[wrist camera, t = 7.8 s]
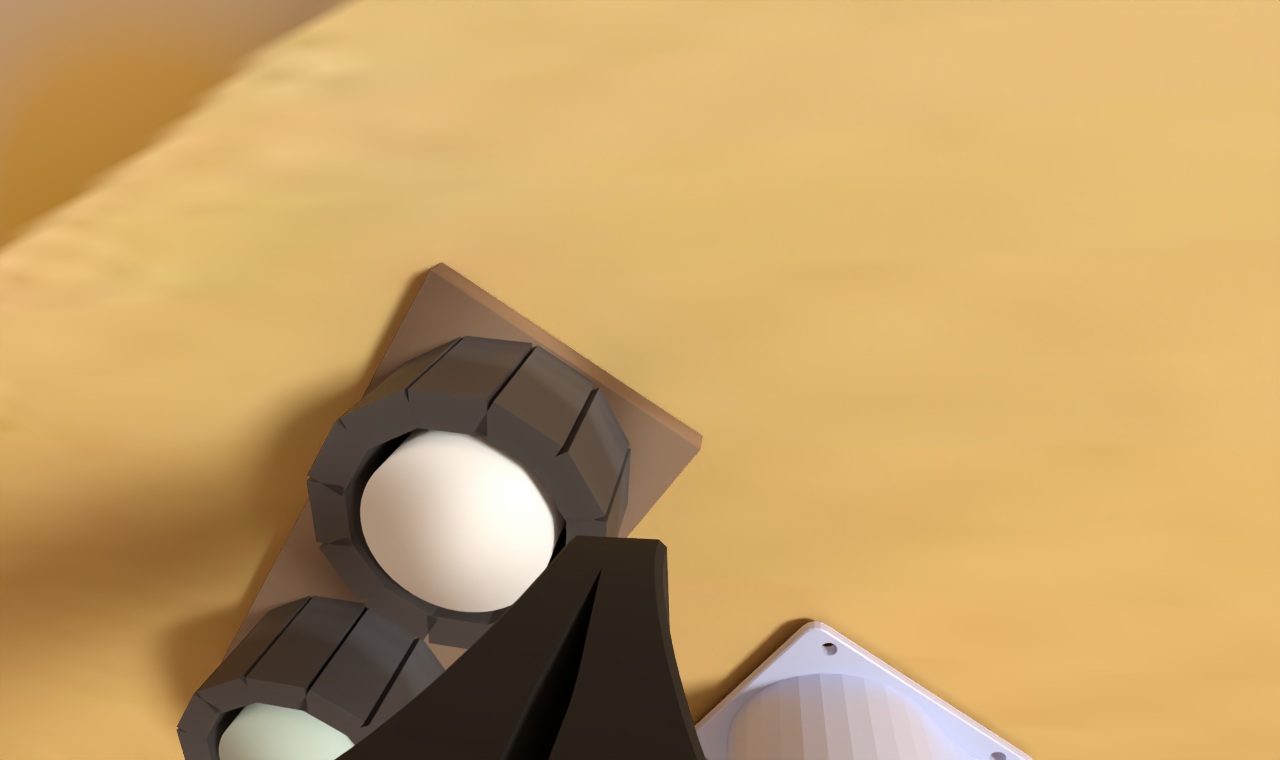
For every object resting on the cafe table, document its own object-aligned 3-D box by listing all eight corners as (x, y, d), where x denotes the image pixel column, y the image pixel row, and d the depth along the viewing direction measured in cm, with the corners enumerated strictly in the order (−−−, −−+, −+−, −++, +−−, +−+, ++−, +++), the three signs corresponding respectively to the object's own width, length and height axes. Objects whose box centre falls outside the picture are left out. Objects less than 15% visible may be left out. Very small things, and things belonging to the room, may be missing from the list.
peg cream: (612, 452, 20) (586, 522, 17) (529, 561, 22) (492, 642, 19) (464, 355, 20) (409, 409, 17) (393, 476, 22) (331, 545, 19)
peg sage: (435, 684, 25) (389, 772, 22) (380, 756, 27) (330, 846, 24) (312, 612, 25) (247, 691, 22) (265, 690, 27) (199, 774, 24)
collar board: (702, 436, 21) (689, 524, 17) (420, 776, 29) (365, 891, 25) (442, 262, 20) (361, 311, 16) (226, 664, 28) (136, 765, 24)
